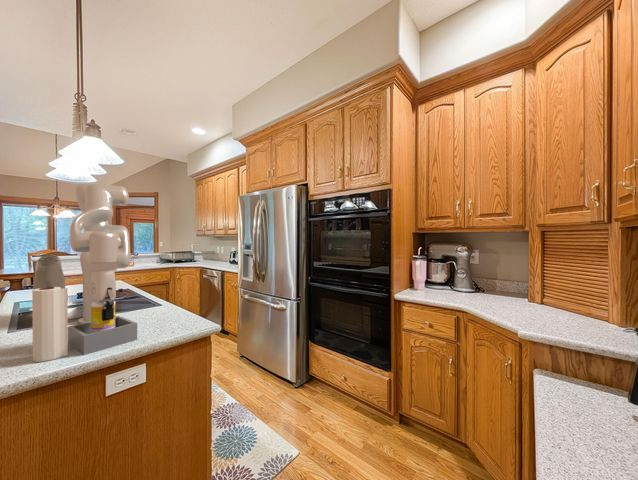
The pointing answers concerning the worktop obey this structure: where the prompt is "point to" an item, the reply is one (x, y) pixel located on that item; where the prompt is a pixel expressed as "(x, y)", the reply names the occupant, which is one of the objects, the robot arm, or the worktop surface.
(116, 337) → the walled box
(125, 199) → the robot arm
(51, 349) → the paper towel roll
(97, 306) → the supplement bottle
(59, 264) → the grey rounded cylinder
